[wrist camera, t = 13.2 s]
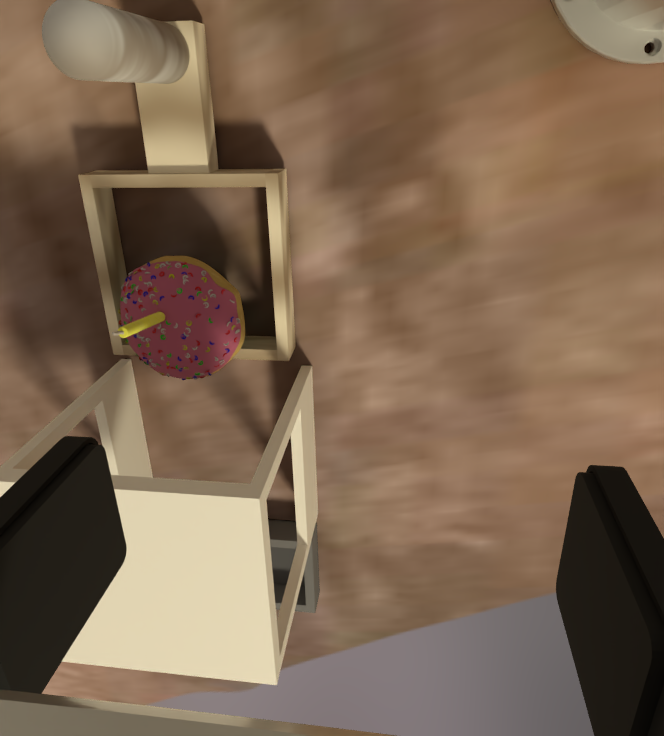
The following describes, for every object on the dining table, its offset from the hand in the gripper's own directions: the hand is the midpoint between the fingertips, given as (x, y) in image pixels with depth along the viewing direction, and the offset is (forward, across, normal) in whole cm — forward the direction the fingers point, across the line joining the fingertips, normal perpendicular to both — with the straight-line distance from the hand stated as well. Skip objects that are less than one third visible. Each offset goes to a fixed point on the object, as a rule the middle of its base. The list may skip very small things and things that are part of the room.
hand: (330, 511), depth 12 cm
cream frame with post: (+30, +14, -1) cm, 33 cm away
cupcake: (+31, +14, +6) cm, 34 cm away
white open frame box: (+30, +14, +18) cm, 38 cm away
